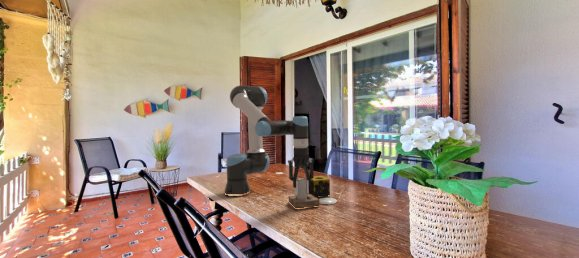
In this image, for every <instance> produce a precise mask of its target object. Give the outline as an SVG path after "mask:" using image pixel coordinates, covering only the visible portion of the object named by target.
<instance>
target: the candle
mask: <svg viewBox="0 0 579 258" xmlns="http://www.w3.org/2000/svg"><path fill="white" fill-rule="evenodd" d="M330 186H331V178H328V177H327V176H324V175H316V176H315V175H314V178H313V179H311V180H310V186H308V187H309V194H311V195H313V196H314V197H318V196H328V195H330V196H331V188H330Z"/></svg>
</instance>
